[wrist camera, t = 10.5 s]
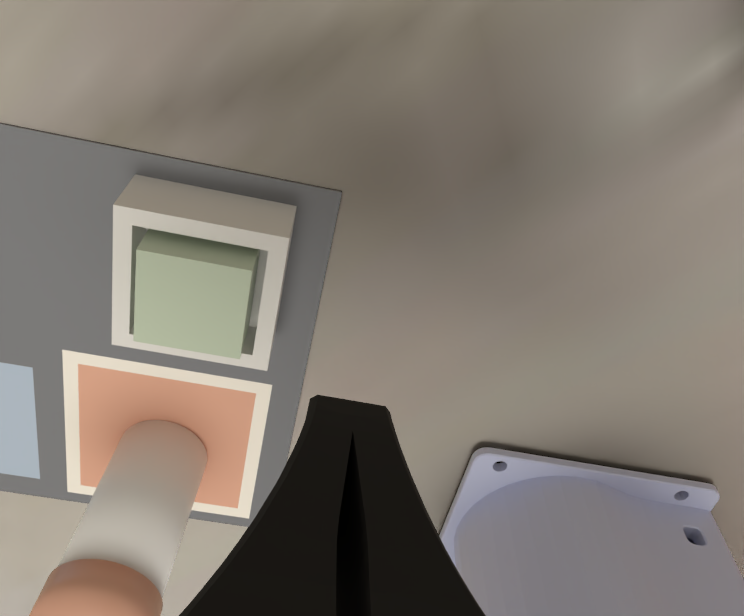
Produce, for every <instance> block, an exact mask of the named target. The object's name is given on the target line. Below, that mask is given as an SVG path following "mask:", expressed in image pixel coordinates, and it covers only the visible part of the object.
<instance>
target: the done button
mask: <svg viewBox="0 0 744 616" xmlns="http://www.w3.org/2000/svg"><path fill="white" fill-rule="evenodd" d="M259 254H260V249H255V248H250V247H244V246H239V245H234V244H229V243H223V242H218V241H213V240H207V239H202V238H197V237H192V236H186V235H181V234H176V233H170V232H165V231H160V230H154V229H148V231H147V232H146V234H145V236H144V237H143V239H142V241H141V242H140V244H139V246H138V247H137V249H136V274H135V305H134V336H133V341H136V342H141V343H147V344H153V345H159V346H165V347H171V348H176V349H182V350H188V351H194V352H200V353H206V354H212V355H217V356H223V357H229V358H235V359H240V357H241V353H242V350H243V346H244V342H245V338H246V335H247V331H248V327H249V324H250V317H251V310H252V303H253V296H254V289H255V282H256V275H257V268H258V261H259Z"/></svg>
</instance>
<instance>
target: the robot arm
mask: <svg viewBox="0 0 744 616" xmlns="http://www.w3.org/2000/svg"><path fill="white" fill-rule="evenodd" d="M498 461H503V462H502V463H496V462H498ZM679 491H680V492H679ZM719 498H720V495H719V492H718V490H717V488H716V487H715V486H714V485H712V484H709V483H703V482H697V481H691V480H685V479H679V478H673V477H667V476H661V475H655V474H649V473H643V472H636V471H630V470H624V469H618V468H612V467H606V466H600V465H594V464H588V463H582V462H576V461H569V460H563V459H557V458H551V457H545V456H539V455H533V454H527V453H521V452H515V451H509V450H502V449H496V448H490V447H483V448H480V449H478V450H476V451H475V452H474V453H473V454H472V457H471V459H470V461H469V464H468V466H467V469H466V471H465V474H464V476H463V479H462V481H461V484H460V486H459V488H458V491H457V493H456V496H455V498H454V501H453V503H452V506H451V508H450V510H449V513H448V515H447V518H446V520H445V523H444V525H443V528H442V530H441V533H440V535H438V533H437V531H436V529H435V527H434V525H433V523H432V521H431V519H430V517H429V515H428V513H427V510H426V508H425V506H424V504H423V501H422V499H421V497H420V495H419V492H418V490H417V488H416V485H415V483H414V481H413V478H412V476H411V473H410V471H409V468H408V466H407V463H406V461H405V458H404V455H403V453H402V450H401V447H400V444H399V441H398V438H397V435H396V432H395V429H394V426H393V422H392V419H391V415H390V412H389V411H388V409H387V408H386V406H381V405H375V404H369V403H363V402H357V401H351V400H345V399H339V398H333V397H327V396H321V395H317V396H315V397H313V398H311V399H310V402H309V406H308V411H307V416H306V420H305V423H304V426H303V429H302V431H301V434H300V436H299V438H298V441H297V443H296V445H295V448H294V450H293V452H292V454H291V456H290V458H289V459H288V461H287V463H286V465H285V467H284V469H283V471H282V473H281V475H280V477H279V479H278V481H277V482H276V484H275V486H274V487H273V489H272V491H271V492H270V494H269V496H268V497H267V499H266V500H265V502H264V504H263V505H262V507H261V509H260V510H259V512H258V514H257V515H256V517H255V518H254V520H253V521H252V523H251V524H250V526H249V527H248V529H247V530H246V532H245V533H244V535H243V536H242V537H241V539H240V540H239V542H238V543H237V544H236V546H235V547H234V548H233V550H232V551H231V553H230V554H229V555H228V557H227V558H226V559H225V561H224V562H223V563H222V565H221V566H220V567H219V568H218V570H217V571H216V572H215V573H214V575H213V576H212V577H211V578H210V580H209V581H208V582H207V583H206V585H205V586H204V587H203V588H202V590H201V591H200V592H199V593H198V594H197V596H196V597H195V598H194V599H193V600H192V601H191V603H190V604H189V605H188V606H187V607H186V608H185V609H184V611H183V612H182V613H181V614H180V615H179V616H744V578H743V576H742V574H741V572H740V570H739V568H738V566H737V564H736V562H735V560H734V558H733V556H732V554H731V552H730V550H729V548H728V546H727V544H726V542H725V540H724V538H723V536H722V534H721V532H720V530H719V528H718V526H717V524H716V522H715V520H714V517H713V515H712V513H711V510H712V509H713V508H714V506H715V505H716V503H717V502H718V500H719Z"/></svg>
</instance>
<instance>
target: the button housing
mask: <svg viewBox="0 0 744 616" xmlns="http://www.w3.org/2000/svg"><path fill="white" fill-rule="evenodd" d="M296 208H297V206H294V205H289V204H284V203H279V202H273V201H268V200H263V199H258V198H253V197H248V196H243V195H238V194H233V193H228V192H223V191H217V190H212V189H207V188H202V187H197V186H192V185H187V184H182V183H177V182H172V181H167V180H162V179H156V178H151V177H146V176H141V175H136V174H135V175H134V177H133V178H132V179H131V181H130V182H129V184H128V185H127V186H126V188H125V189H124V190H123V192H122V193H121V195H120V196H119V197H118V199H117V200H116V201H115V203H114V204H113V260H112V345H117V346H123V347H129V348H135V349H141V350H147V351H153V352H159V353H164V354H170V355H176V356H182V357H188V358H194V359H200V360H206V361H211V362H217V363H223V364H229V365H235V366H241V367H247V368H253V369H258V370H264V371H267V370H268V365H269V360H270V355H271V351H272V346H273V341H274V337H275V332H276V326H277V320H278V314H279V308H280V302H281V296H282V290H283V284H284V278H285V273H286V267H287V261H288V255H289V249H290V243H291V237H292V231H293V225H294V219H295V214H296ZM148 229H154V230H160V231H165V232H170V233H176V234H181V235H186V236H192V237H197V238H202V239H207V240H213V241H218V242H223V243H229V244H234V245H239V246H244V247H250V248H255V249H260V254H259V261H258V268H257V275H256V282H255V289H254V296H253V303H252V310H251V317H250V324H249V327H248V331H247V335H246V338H245V342H244V346H243V350H242V353H241V357H240V359H235V358H229V357H223V356H217V355H212V354H206V353H200V352H194V351H188V350H182V349H176V348H171V347H165V346H159V345H153V344H147V343H141V342H136V341H133V336H134V305H135V274H136V249H137V247H138V246H139V244H140V242H141V241H142V239H143V237H144V236H145V234H146V232H147V231H148Z"/></svg>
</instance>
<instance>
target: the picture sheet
mask: <svg viewBox="0 0 744 616" xmlns="http://www.w3.org/2000/svg"><path fill="white" fill-rule="evenodd" d="M135 174H136V175H141V176H146V177H151V178H156V179H162V180H167V181H172V182H177V183H182V184H187V185H192V186H197V187H202V188H207V189H212V190H217V191H223V192H228V193H233V194H238V195H243V196H248V197H253V198H258V199H263V200H268V201H273V202H279V203H284V204H289V205H294V206H297V208H296V214H295V219H294V225H293V231H292V237H291V243H290V249H289V255H288V261H287V267H286V273H285V278H284V284H283V290H282V296H281V302H280V308H279V314H278V320H277V326H276V332H275V337H274V341H273V346H272V351H271V355H270V360H269V365H268V370H267V371H264V370H258V369H253V368H247V367H241V366H235V365H229V364H223V363H217V362H211V361H206V360H200V359H194V358H188V357H182V356H176V355H170V354H164V353H159V352H153V351H147V350H141V349H135V348H129V347H123V346H117V345H112V260H113V204H114V203H115V201H116V200H117V199H118V197H119V196H120V195H121V193H122V192H123V190H124V189H125V188H126V186H127V185H128V184H129V182H130V181H131V179H132V178H133V177H134V175H135ZM341 195H342V191H338V190H333V189H328V188H323V187H318V186H313V185H308V184H303V183H298V182H293V181H288V180H283V179H278V178H273V177H268V176H263V175H258V174H253V173H248V172H243V171H238V170H233V169H228V168H223V167H218V166H213V165H208V164H203V163H198V162H193V161H188V160H183V159H178V158H173V157H168V156H163V155H158V154H153V153H148V152H143V151H138V150H133V149H128V148H123V147H118V146H113V145H108V144H103V143H98V142H93V141H88V140H83V139H78V138H73V137H68V136H63V135H58V134H53V133H48V132H43V131H38V130H33V129H28V128H23V127H18V126H13V125H8V124H3V123H0V491H6V492H13V493H19V494H26V495H33V496H40V497H47V498H54V499H61V500H67V501H74V502H81V503H88V504H89V502H90V500H91V498H92V496H93V494H94V492H95V490H96V488H97V486H98V484H99V482H100V480H101V478H102V476H103V474H104V472H105V470H106V468H107V466H108V464H109V462H110V460H111V458H112V456H113V454H114V452H115V450H116V447H117V445H118V443H119V441H120V439H121V437H122V435H123V434H124V432H125V431H126V430H127V429H128V428H129V427H131V426H132V425H134V424H136V423H139V422H142V421H146V420H164V421H169V422H173V423H176V424H179V425H181V426H183V427H185V428H187V429H188V430H190V431H191V432H193V433H194V434H195V435H196V436H197V437H198V438H199V439H200V440H201V442H202V443H203V445H204V447H205V449H206V452H207V464H206V467H205V470H204V473H203V476H202V480H201V483H200V486H199V489H198V492H197V495H196V498H195V501H194V504H193V507H192V510H191V513H190V516H189V518H191V519H198V520H205V521H211V522H218V523H225V524H232V525H239V526H246V527H249V526H250V524H251V523H252V521H253V520H254V518H255V517H256V515H257V514H258V512H259V510H260V509H261V507H262V505H263V504H264V502H265V500H266V499H267V497H268V496H269V494H270V492H271V491H272V489H273V487H274V486H275V484H276V482H277V481H278V479H279V477H280V475H281V473H282V471H283V469H284V467H285V465H286V462H287V457H288V453H289V448H290V443H291V438H292V433H293V428H294V423H295V419H296V414H297V409H298V404H299V399H300V394H301V389H302V385H303V380H304V375H305V370H306V365H307V360H308V355H309V351H310V346H311V341H312V336H313V331H314V326H315V321H316V317H317V312H318V307H319V302H320V297H321V292H322V287H323V283H324V278H325V273H326V268H327V263H328V258H329V253H330V249H331V244H332V239H333V234H334V229H335V224H336V220H337V215H338V210H339V205H340V200H341Z"/></svg>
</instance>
